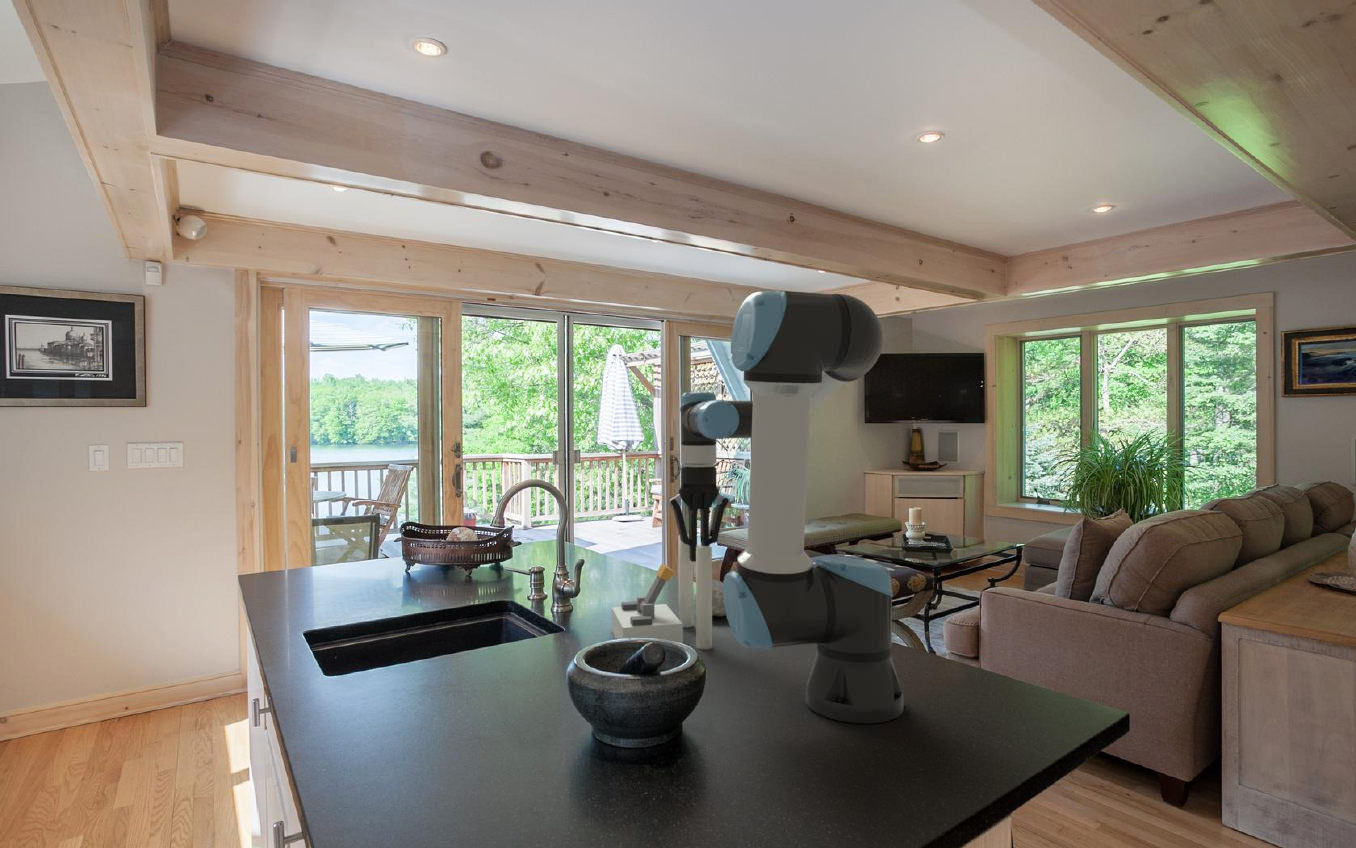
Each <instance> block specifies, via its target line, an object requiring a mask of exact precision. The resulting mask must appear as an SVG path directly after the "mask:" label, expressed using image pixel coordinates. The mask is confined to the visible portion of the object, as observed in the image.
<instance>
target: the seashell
mask: <svg viewBox="0 0 1356 848" xmlns="http://www.w3.org/2000/svg"><path fill="white" fill-rule="evenodd" d="M694 597H695V598H694V606H693V609H694V610H695V611H696V594H695V596H694ZM725 616H727V615H726V611H725V606H724V599H723V582H722V581H721V580H720V579H713V578H712V617H725Z"/></svg>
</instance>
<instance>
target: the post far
mask: <svg viewBox="0 0 1356 848" xmlns="http://www.w3.org/2000/svg"><path fill="white" fill-rule="evenodd" d="M687 535H688V538H689V534H687ZM677 537H678V544H677V545H678V546H677V547H678V551H677V552H678V559H677V562H678V565H677V566H678V573H677V574H678V579H677V580H678V619H679V620H680V621H681V622H682V624H683V629H686V628H691V627H693V626H694V562H692V561H690V558H689V545H687V544H684V543H683V542H682V541H681V539H680V535H678V536H677Z"/></svg>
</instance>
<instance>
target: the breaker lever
mask: <svg viewBox="0 0 1356 848" xmlns="http://www.w3.org/2000/svg"><path fill="white" fill-rule="evenodd" d="M674 573H675V572H674V570H673V569H672V568H670V567H669V566H667V565H665V564H664V563H661V564H660V566H659V568H658V570H657V572H656V577H655V579H654V581H653V583H652V584H651V587H650V588H649V590H648V592H647V593H646V596H644V597H645V599H644V601H642V602H641V603H640V604H639V607H640V609H641V611H642V604H654V605H655V603H656V601H657V599H658V598H659V595H660V594H661V591H662V590H663V588H664V586H665V584H666V583H667V582H669V581H670V579H671V578H672V576H673V574H674Z"/></svg>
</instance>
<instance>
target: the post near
mask: <svg viewBox="0 0 1356 848" xmlns="http://www.w3.org/2000/svg"><path fill="white" fill-rule="evenodd" d="M712 579H713V548H712V546H699V547H696V577H695V595H696V610H695V647H696V649H698V650H710V649H712V648H713V616H712Z"/></svg>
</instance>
